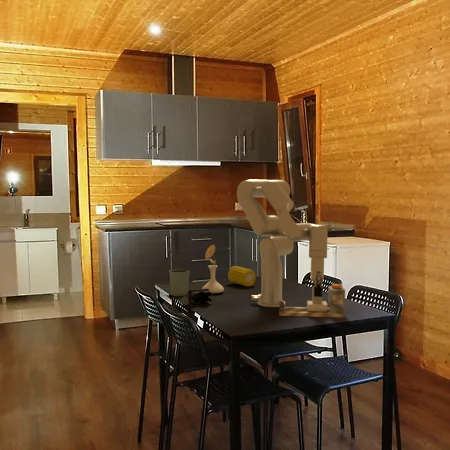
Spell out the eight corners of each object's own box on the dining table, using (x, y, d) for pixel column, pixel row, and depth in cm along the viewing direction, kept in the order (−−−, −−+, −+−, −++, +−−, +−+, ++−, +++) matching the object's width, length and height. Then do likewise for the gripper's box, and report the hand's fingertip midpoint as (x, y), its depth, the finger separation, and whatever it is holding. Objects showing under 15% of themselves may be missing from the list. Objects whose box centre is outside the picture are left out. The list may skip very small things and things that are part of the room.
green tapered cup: (166, 295, 255) (166, 271, 254) (173, 291, 265) (173, 268, 264) (185, 296, 253) (185, 272, 252) (192, 292, 263) (192, 269, 262)
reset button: (332, 288, 215) (332, 285, 215) (331, 286, 219) (331, 284, 219) (342, 288, 215) (342, 286, 215) (340, 287, 219) (340, 284, 219)
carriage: (307, 311, 216) (308, 287, 215) (307, 307, 223) (307, 284, 222) (327, 312, 215) (327, 288, 214) (325, 308, 222) (326, 285, 221)
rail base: (279, 315, 216) (279, 288, 215) (279, 311, 224) (279, 284, 224) (344, 317, 213) (345, 290, 212) (342, 312, 222) (342, 286, 221)
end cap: (206, 301, 243) (206, 287, 242) (212, 304, 236) (212, 290, 236) (186, 303, 238) (186, 289, 238) (192, 306, 232) (192, 292, 231)
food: (258, 286, 279) (258, 268, 278) (239, 288, 274) (239, 269, 273) (244, 281, 293) (244, 264, 292) (225, 283, 287) (225, 265, 286)
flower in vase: (201, 290, 268) (201, 242, 266) (223, 290, 269) (223, 242, 267) (202, 295, 255) (202, 245, 253) (225, 295, 256) (225, 245, 254)
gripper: (307, 251, 226) (307, 289, 227) (310, 256, 209) (309, 298, 210) (325, 251, 225) (324, 290, 226) (329, 256, 208) (328, 298, 209)
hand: (317, 294), depth 218 cm, fingers open, 9 cm apart
